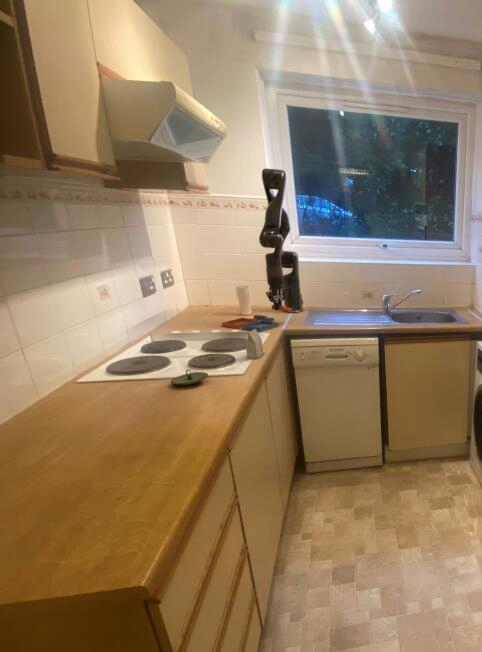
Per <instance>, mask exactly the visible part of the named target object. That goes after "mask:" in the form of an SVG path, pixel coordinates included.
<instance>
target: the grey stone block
mask: <svg viewBox="0 0 482 652" xmlns="http://www.w3.org/2000/svg"><path fill="white" fill-rule="evenodd" d="M244 344H245V351H246V358H247V359H259V358H260V357H261V356H262V355H264V348H263V339H262V337H261V336H260V334H259V333H258V331H256V329H254V330H252V331H251V330H250V331H249V332H248V335H247V338H246V341H245V343H244Z"/></svg>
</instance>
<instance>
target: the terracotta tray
mask: <svg viewBox="0 0 482 652" xmlns="http://www.w3.org/2000/svg"><path fill="white" fill-rule="evenodd" d="M257 321H259V319H254V318H247V317H239V318H235V319H230V320H227V321H222V322H221V327H224V328H230V329H236V330H237V329H243V328H242V325H246V324H250V323H253V322H257Z"/></svg>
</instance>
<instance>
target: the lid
mask: <svg viewBox="0 0 482 652" xmlns="http://www.w3.org/2000/svg"><path fill="white" fill-rule="evenodd" d="M188 372H189V373H188ZM208 376H209V374H208V373H207V372H203V371H195V372H194V371H193V372H191V370H190V369H186V370H185V374H181V375H179V376H176V377H174V378H172V379H171V381H170V384H172V385H174V386H189V385H193V384H197V383H200V382H202V381H203V380H205V379H207V378H208Z"/></svg>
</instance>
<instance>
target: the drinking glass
mask: <svg viewBox="0 0 482 652" xmlns="http://www.w3.org/2000/svg"><path fill="white" fill-rule="evenodd" d="M235 292H236V297H237V301H238V306H239V310H240V315H242V316H250V315H252V313H253V312H252V291H251V286H249V285H236V286H235Z"/></svg>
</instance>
